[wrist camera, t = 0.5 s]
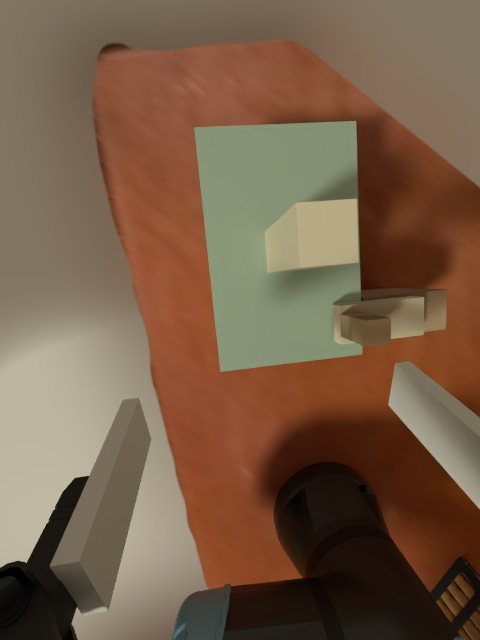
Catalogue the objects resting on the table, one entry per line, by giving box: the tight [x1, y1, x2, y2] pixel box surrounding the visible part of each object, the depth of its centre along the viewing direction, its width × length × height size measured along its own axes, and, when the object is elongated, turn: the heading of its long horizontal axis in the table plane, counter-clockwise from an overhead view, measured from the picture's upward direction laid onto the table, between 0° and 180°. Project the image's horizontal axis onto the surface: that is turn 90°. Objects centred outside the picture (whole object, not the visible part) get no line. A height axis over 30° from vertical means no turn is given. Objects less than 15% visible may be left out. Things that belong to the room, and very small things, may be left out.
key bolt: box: [332, 296, 424, 347], centre depth 23 cm, size 4×8×6 cm, turn 95°
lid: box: [194, 121, 362, 372], centre depth 21 cm, size 21×14×11 cm, turn 5°
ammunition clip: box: [430, 557, 480, 640], centre depth 39 cm, size 11×2×12 cm, turn 144°
